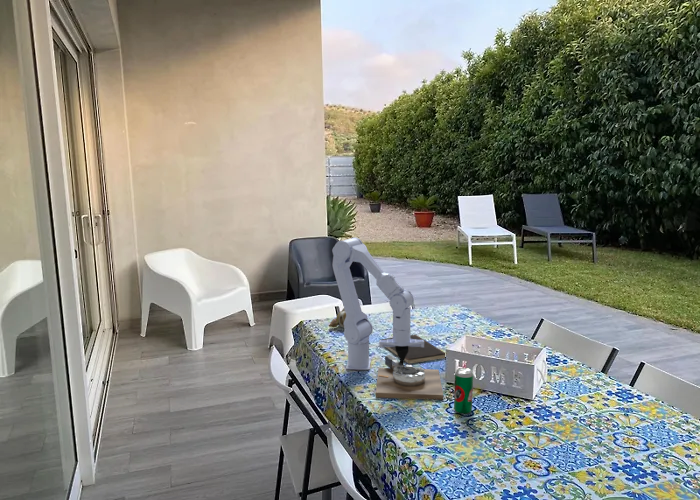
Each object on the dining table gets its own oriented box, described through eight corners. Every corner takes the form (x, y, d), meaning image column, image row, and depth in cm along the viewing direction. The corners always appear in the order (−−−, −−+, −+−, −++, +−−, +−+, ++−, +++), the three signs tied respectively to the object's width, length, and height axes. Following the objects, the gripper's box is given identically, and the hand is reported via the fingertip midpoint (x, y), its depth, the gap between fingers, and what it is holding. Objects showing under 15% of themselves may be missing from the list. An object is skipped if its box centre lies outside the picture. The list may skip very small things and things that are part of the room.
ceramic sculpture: (363, 303, 241) (350, 314, 227) (363, 322, 243) (351, 334, 229) (340, 301, 245) (326, 312, 231) (340, 320, 247) (327, 332, 233)
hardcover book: (407, 365, 195) (407, 359, 195) (379, 345, 216) (379, 339, 216) (447, 359, 201) (447, 353, 201) (416, 339, 222) (416, 334, 222)
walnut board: (378, 372, 188) (378, 367, 188) (438, 373, 186) (438, 369, 186) (375, 397, 168) (375, 392, 168) (443, 399, 167) (443, 394, 166)
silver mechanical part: (431, 382, 175) (431, 372, 174) (403, 388, 171) (403, 377, 170) (400, 362, 192) (400, 353, 191) (374, 367, 188) (374, 357, 187)
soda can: (472, 415, 157) (473, 374, 155) (453, 414, 158) (454, 373, 156) (471, 407, 161) (473, 368, 159) (453, 406, 162) (455, 366, 160)
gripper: (422, 324, 187) (422, 363, 189) (378, 324, 187) (379, 363, 189) (425, 330, 180) (424, 371, 182) (379, 330, 180) (379, 371, 182)
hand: (401, 367), depth 185 cm, fingers closed
